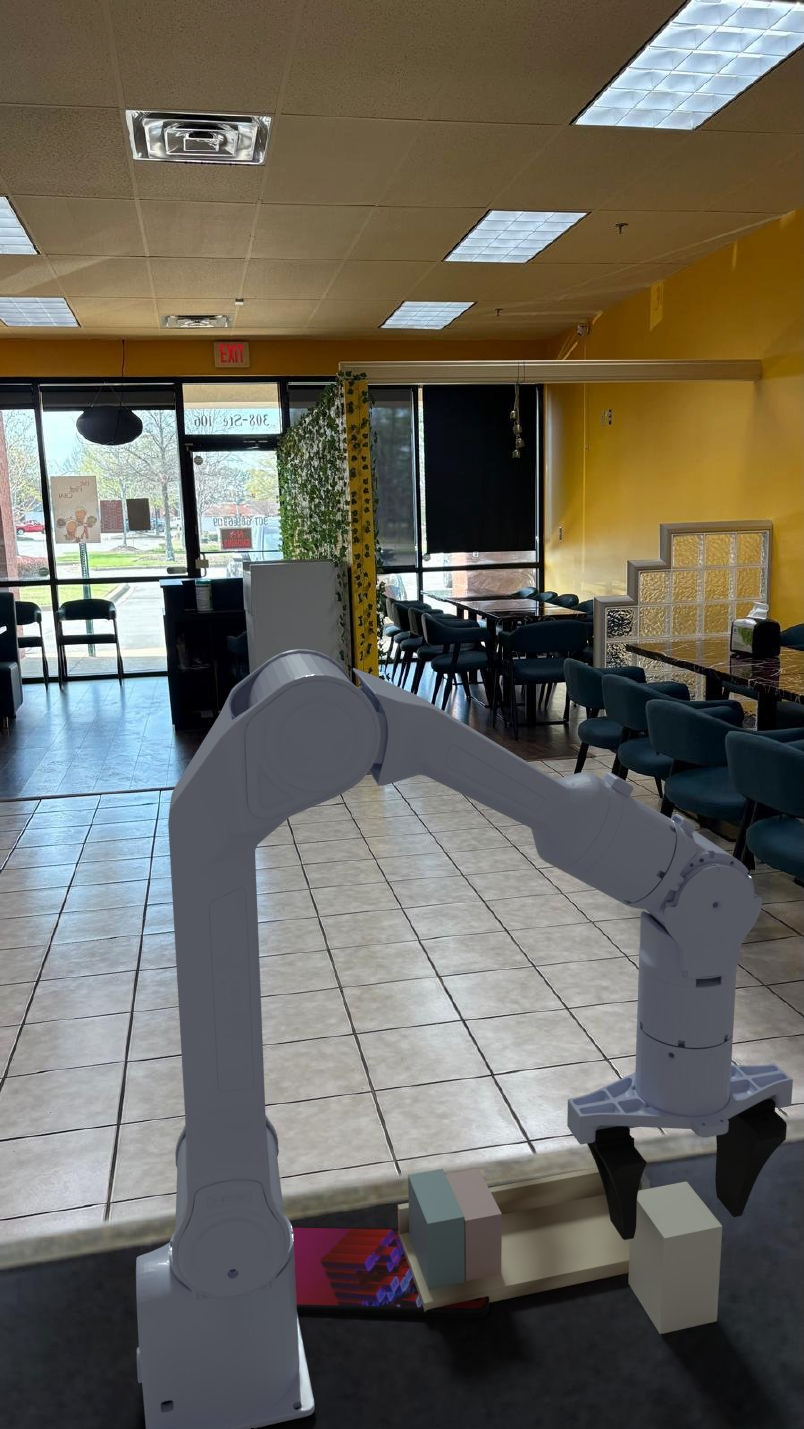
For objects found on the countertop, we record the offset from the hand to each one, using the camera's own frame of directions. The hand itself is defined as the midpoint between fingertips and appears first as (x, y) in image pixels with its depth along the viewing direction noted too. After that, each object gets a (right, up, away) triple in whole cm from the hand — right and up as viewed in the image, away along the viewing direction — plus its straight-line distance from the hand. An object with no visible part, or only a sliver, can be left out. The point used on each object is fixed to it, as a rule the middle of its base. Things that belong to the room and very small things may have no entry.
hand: (676, 1217), depth 66 cm
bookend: (-2, -5, +7) cm, 9 cm away
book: (0, -6, +1) cm, 6 cm away
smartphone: (-19, -6, +4) cm, 21 cm away
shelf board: (-8, -5, +6) cm, 12 cm away
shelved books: (-14, -6, +4) cm, 16 cm away
